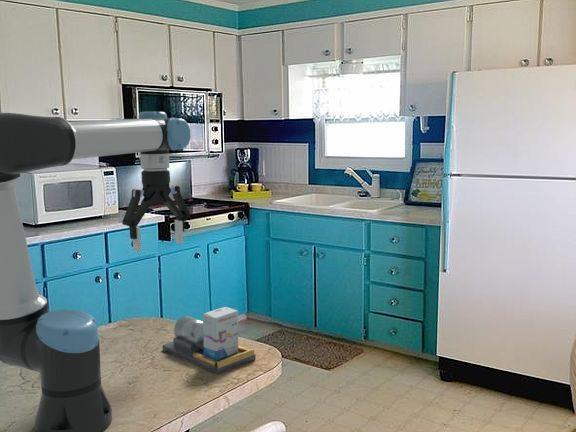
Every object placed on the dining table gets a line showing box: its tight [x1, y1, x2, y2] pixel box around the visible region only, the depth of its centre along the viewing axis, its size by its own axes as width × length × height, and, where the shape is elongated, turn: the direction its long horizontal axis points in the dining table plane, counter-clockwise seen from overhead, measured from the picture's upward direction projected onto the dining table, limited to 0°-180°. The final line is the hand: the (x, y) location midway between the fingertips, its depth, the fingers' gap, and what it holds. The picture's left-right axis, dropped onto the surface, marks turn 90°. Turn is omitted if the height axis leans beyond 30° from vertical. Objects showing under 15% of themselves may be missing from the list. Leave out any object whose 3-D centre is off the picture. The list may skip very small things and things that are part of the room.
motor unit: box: [162, 315, 257, 375], centre depth 161 cm, size 13×24×8 cm, turn 46°
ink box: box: [202, 306, 239, 361], centre depth 157 cm, size 9×5×12 cm, turn 141°
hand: (158, 247), depth 163 cm, fingers open, 13 cm apart
